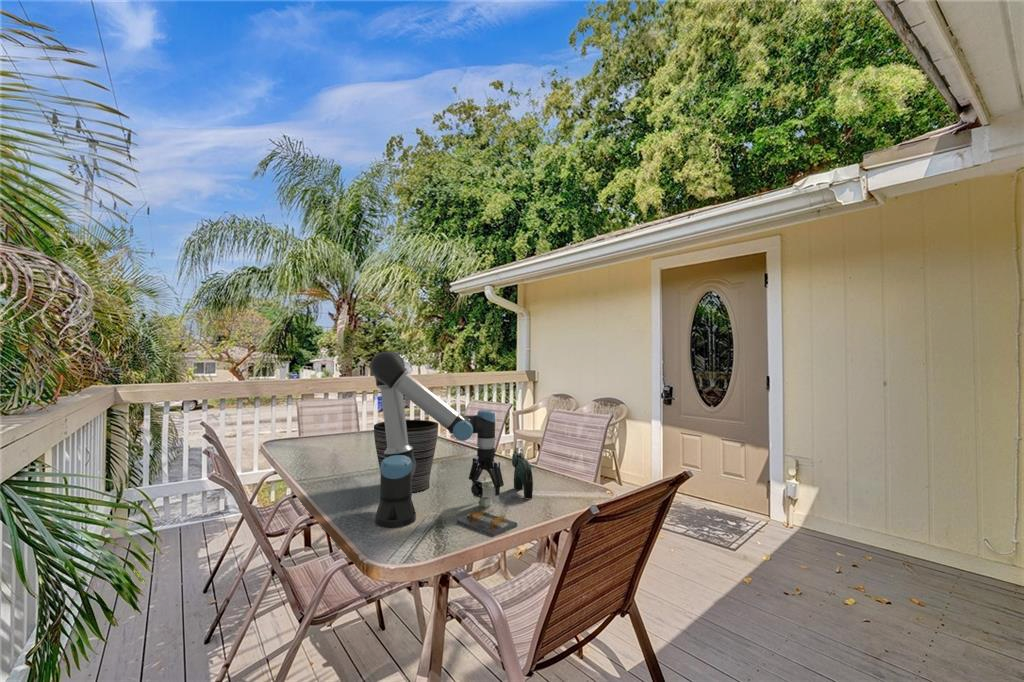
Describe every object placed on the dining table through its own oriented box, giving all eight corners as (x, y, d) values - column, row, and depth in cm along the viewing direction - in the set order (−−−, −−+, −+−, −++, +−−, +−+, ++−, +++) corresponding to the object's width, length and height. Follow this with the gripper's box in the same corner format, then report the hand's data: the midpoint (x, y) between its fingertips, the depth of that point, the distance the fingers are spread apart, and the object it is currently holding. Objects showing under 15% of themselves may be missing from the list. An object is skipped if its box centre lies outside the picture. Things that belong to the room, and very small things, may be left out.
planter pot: (370, 499, 202) (371, 430, 203) (374, 480, 231) (375, 420, 232) (440, 494, 209) (440, 428, 210) (435, 477, 238) (436, 419, 239)
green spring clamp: (510, 487, 221) (510, 445, 222) (523, 486, 223) (523, 444, 224) (523, 500, 202) (523, 454, 203) (537, 498, 204) (537, 453, 205)
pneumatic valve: (470, 507, 192) (470, 478, 192) (491, 501, 200) (491, 473, 200) (479, 510, 188) (479, 481, 188) (500, 504, 196) (500, 476, 196)
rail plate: (493, 536, 162) (493, 526, 162) (456, 523, 174) (456, 513, 174) (517, 526, 171) (517, 516, 172) (480, 514, 184) (480, 505, 184)
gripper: (512, 449, 190) (512, 503, 189) (473, 442, 205) (472, 492, 204) (500, 452, 184) (500, 508, 183) (460, 444, 199) (460, 496, 199)
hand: (485, 500), depth 194 cm, fingers open, 11 cm apart
